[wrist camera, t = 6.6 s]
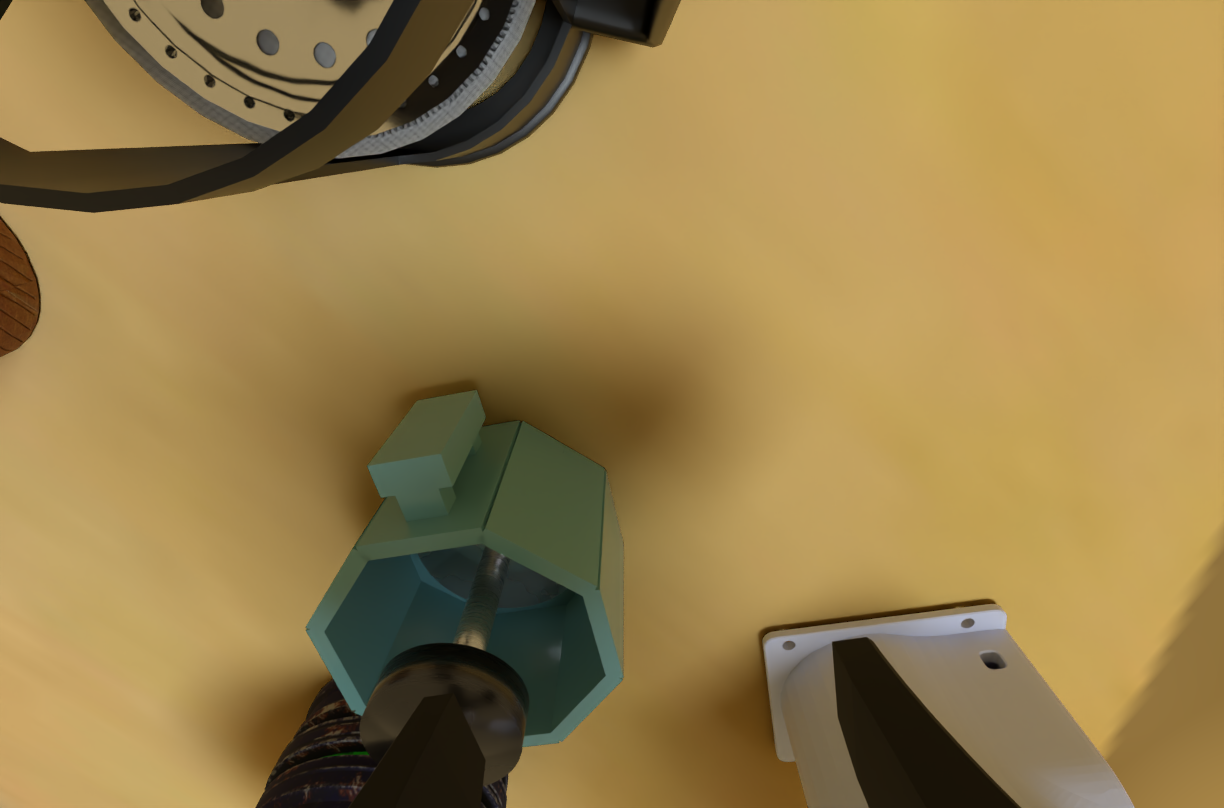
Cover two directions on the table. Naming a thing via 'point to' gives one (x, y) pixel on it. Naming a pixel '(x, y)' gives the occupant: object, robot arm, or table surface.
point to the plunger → (464, 660)
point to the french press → (326, 90)
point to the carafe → (503, 521)
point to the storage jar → (333, 761)
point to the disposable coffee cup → (15, 294)
